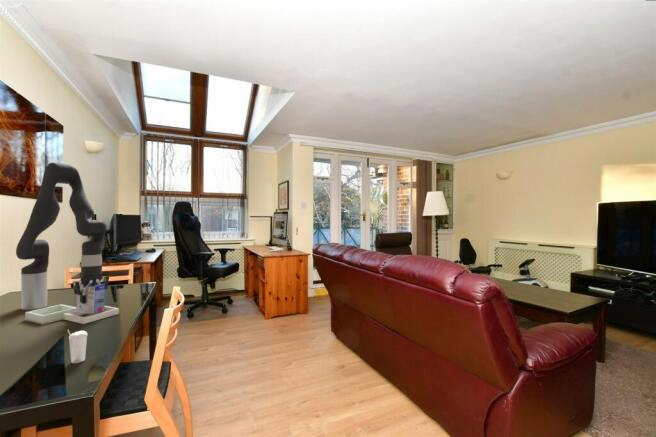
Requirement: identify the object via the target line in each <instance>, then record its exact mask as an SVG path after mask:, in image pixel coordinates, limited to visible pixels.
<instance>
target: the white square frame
mask: <svg viewBox="0 0 656 437" xmlns="http://www.w3.org/2000/svg"><path fill="white" fill-rule="evenodd" d="M87 314H88V313H80V312H77V310H76V311H72V312H67V313H63V319H62V320H65V321H69V322H73V323H77V324H83V325H85V324H89V323H92V322H95V321H98V320H102V319H105V318H110V317H112V316H117V315H120V308H118V307H114V306H108V305H105V311H102V312H99V313H96V314H91V315H87ZM83 315H87V316H83Z"/></svg>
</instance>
